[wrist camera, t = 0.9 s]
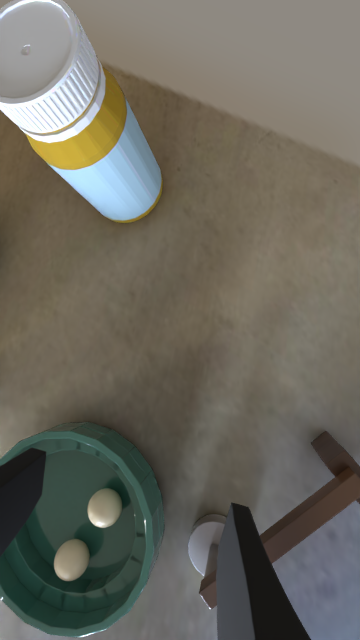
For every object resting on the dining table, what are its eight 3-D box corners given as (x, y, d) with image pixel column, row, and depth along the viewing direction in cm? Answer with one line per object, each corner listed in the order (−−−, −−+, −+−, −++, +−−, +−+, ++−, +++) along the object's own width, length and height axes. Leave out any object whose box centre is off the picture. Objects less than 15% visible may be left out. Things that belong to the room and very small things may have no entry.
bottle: (143, 236, 30) (47, 130, 16) (84, 209, 32) (-55, 90, 17) (177, 170, 30) (111, 1, 15) (116, 146, 32) (3, -28, 17)
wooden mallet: (214, 581, 26) (204, 651, 20) (180, 534, 27) (161, 587, 21) (360, 469, 25) (397, 508, 19) (319, 423, 26) (342, 446, 20)
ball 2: (133, 504, 27) (121, 521, 25) (109, 523, 28) (94, 542, 25) (114, 476, 28) (99, 490, 25) (91, 495, 28) (74, 511, 25)
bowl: (202, 529, 27) (194, 560, 23) (72, 632, 28) (44, 677, 24) (96, 386, 30) (74, 392, 26) (-16, 485, 31) (-53, 505, 27)
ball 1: (101, 554, 28) (85, 576, 25) (78, 573, 28) (59, 597, 25) (82, 525, 28) (65, 544, 25) (60, 544, 28) (40, 565, 26)
